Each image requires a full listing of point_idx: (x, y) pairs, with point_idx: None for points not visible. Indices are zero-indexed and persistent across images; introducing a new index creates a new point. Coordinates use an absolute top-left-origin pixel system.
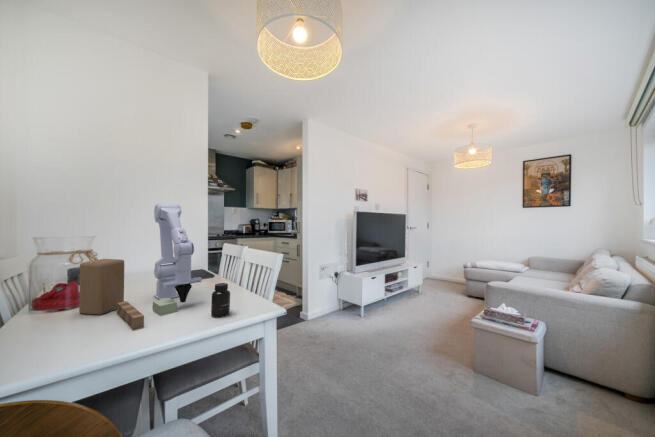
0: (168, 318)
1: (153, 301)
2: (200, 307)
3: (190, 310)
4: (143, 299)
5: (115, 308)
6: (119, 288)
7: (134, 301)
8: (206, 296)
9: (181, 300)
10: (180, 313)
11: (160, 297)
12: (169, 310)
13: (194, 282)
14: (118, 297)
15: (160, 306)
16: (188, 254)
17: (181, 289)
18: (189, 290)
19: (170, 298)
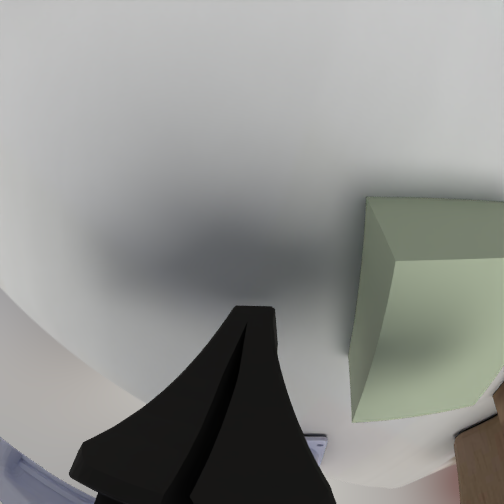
0: (491, 61)
1: (473, 402)
2: (123, 137)
3: (236, 107)
4: (363, 461)
5: (492, 421)
6: (489, 501)
7: (396, 457)
8: (84, 345)
9: (274, 337)
10: (365, 92)
11: (316, 454)
12: (451, 210)
13: (55, 482)
14: (488, 465)
15: None
16: None
17: (285, 489)
18: (136, 412)
19: (358, 408)
